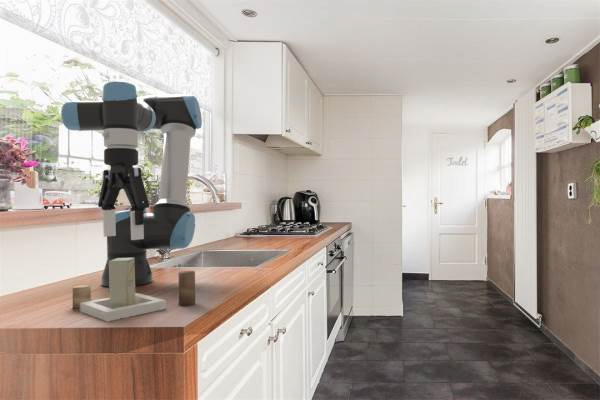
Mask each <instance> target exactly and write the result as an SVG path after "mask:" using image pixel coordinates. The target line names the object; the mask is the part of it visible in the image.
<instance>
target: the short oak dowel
mask: <svg viewBox="0 0 600 400" xmlns="http://www.w3.org/2000/svg"><path fill="white" fill-rule="evenodd" d="M91 289H92V286H91V285H87V284H86V285H77V286H72V292H71V293H72V310H80V303H82V302H88V301H92V300H91V299H92V290H91Z"/></svg>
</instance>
